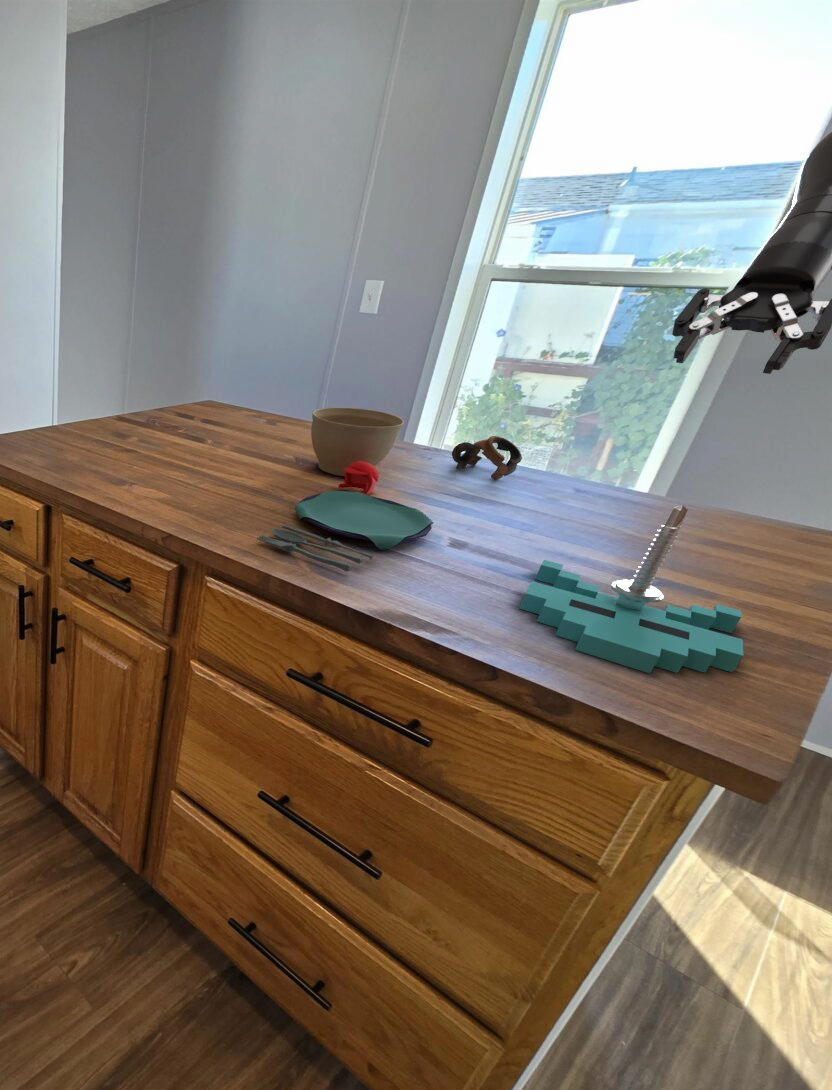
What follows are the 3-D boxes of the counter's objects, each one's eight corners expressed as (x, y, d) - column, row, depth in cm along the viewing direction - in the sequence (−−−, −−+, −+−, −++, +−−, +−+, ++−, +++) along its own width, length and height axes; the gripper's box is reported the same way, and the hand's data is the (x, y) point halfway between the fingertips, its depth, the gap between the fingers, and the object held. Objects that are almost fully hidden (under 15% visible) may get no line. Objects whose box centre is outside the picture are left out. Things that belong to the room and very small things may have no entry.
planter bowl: (401, 471, 131) (417, 417, 125) (367, 490, 121) (383, 431, 116) (323, 453, 141) (335, 402, 135) (286, 469, 131) (298, 414, 126)
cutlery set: (449, 529, 105) (454, 516, 104) (358, 583, 89) (362, 568, 88) (333, 495, 119) (336, 482, 118) (234, 536, 102) (237, 522, 101)
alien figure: (537, 573, 92) (508, 628, 79) (544, 559, 91) (514, 612, 78) (730, 626, 80) (733, 700, 67) (740, 610, 79) (745, 682, 66)
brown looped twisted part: (483, 466, 136) (517, 437, 129) (497, 499, 131) (533, 471, 124) (433, 451, 134) (465, 421, 127) (445, 484, 129) (479, 455, 122)
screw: (600, 604, 80) (608, 591, 83) (651, 619, 77) (658, 606, 80) (652, 504, 73) (659, 494, 76) (709, 517, 70) (714, 506, 73)
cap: (346, 484, 124) (354, 453, 121) (379, 492, 120) (388, 460, 117) (329, 494, 119) (337, 462, 116) (363, 503, 115) (372, 470, 112)
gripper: (724, 238, 87) (656, 336, 86) (886, 240, 77) (809, 351, 76) (714, 281, 92) (649, 374, 92) (863, 288, 82) (792, 393, 82)
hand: (722, 364), depth 84 cm, fingers open, 8 cm apart
